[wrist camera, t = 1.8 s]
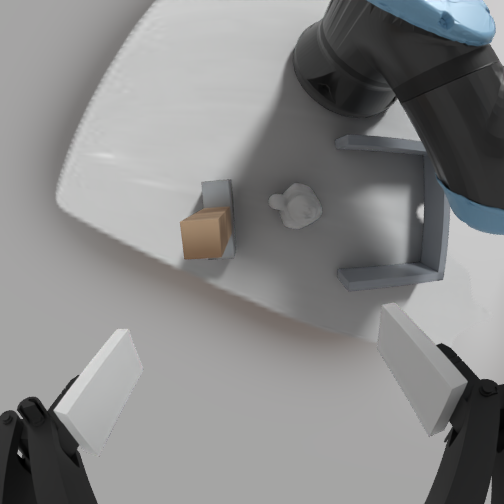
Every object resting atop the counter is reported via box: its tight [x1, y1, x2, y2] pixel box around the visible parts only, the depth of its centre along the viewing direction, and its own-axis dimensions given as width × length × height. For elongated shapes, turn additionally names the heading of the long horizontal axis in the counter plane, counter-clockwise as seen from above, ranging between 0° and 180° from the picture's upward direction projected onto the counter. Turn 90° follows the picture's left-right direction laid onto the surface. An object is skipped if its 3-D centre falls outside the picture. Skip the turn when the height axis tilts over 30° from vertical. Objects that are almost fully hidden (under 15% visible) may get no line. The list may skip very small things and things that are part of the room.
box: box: [335, 134, 450, 291], centre depth 31 cm, size 18×15×5 cm
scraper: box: [180, 180, 236, 260], centre depth 28 cm, size 9×3×14 cm, turn 4°
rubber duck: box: [268, 183, 322, 229], centre depth 30 cm, size 5×7×8 cm
